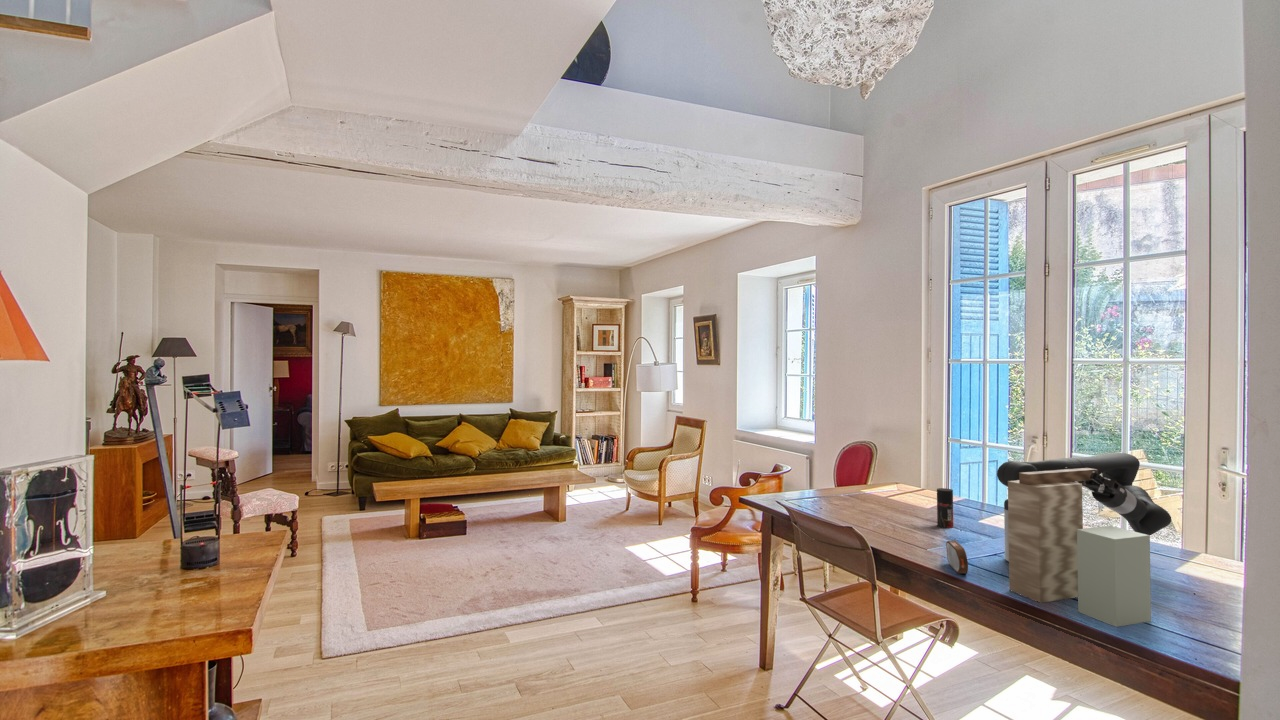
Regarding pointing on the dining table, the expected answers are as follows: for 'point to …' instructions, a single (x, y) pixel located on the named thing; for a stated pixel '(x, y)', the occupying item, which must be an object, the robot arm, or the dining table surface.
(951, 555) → the tin
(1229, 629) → the dining table surface
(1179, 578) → the dining table surface
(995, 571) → the dining table surface
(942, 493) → the deodorant
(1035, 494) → the stand
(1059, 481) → the walnut bar
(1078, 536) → the green plinth
